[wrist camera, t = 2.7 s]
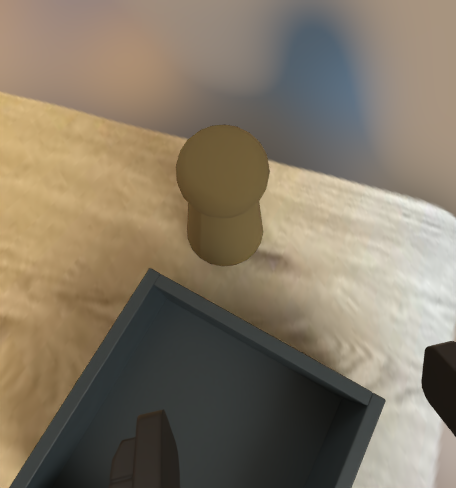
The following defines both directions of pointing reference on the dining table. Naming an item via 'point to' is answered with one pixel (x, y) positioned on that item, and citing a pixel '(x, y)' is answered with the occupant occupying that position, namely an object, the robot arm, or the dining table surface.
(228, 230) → the cork
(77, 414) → the bin
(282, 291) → the dining table surface
